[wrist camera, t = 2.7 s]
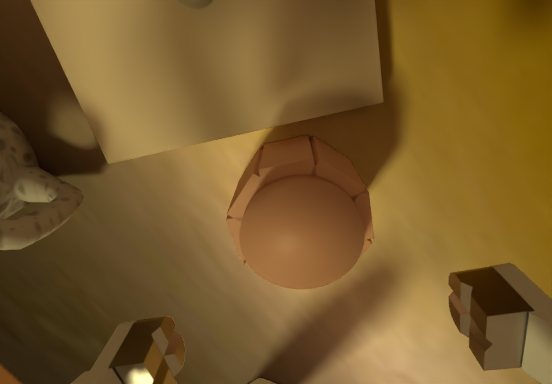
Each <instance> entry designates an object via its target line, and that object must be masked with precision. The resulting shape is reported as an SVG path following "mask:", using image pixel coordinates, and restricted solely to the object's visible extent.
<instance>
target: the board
mask: <svg viewBox="0 0 552 384" xmlns="http://www.w3.org/2000/svg"><path fill="white" fill-rule="evenodd" d="M30 1H31V3H32V5H33V7H34V9H35V11H36V13H37V15H38V17H39V19H40V22H41V24H42V26H43V28H44V30H45V32H46V34H47V36H48V38H49V40H50V43H51V45H52V47H53V49H54V51H55V53H56V55H57V57H58V59H59V62H60V64H61V66H62V68H63V70H64V72H65V74H66V76H67V78H68V80H69V83H70V85H71V87H72V89H73V91H74V93H75V95H76V97H77V99H78V102H79V104H80V106H81V108H82V110H83V112H84V114H85V116H86V118H87V120H88V123H89V125H90V127H91V129H92V131H93V133H94V135H95V137H96V139H97V141H98V144H99V146H100V148H101V150H102V152H103V154H104V156H105V158H106V160H107V163H108V164H110V163H114V162H119V161H123V160H128V159H132V158H137V157H141V156H145V155H150V154H154V153H159V152H163V151H168V150H172V149H177V148H181V147H186V146H190V145H195V144H199V143H204V142H208V141H213V140H217V139H222V138H226V137H231V136H235V135H240V134H244V133H249V132H253V131H258V130H262V129H267V128H271V127H276V126H280V125H285V124H289V123H294V122H298V121H303V120H307V119H312V118H316V117H321V116H325V115H330V114H334V113H339V112H343V111H348V110H352V109H356V108H361V107H365V106H370V105H374V104H379V103H383V102H384V101H383V90H382V78H381V67H380V55H379V43H378V32H377V20H376V8H375V0H213V2H212V3H211V4H210V5H208V6H207V7H205V8H202V9H192V8H189V7H187V6H184V5H182V4H180V3H177V2H175V1H173V0H30Z"/></svg>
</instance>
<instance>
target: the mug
mask: <svg viewBox="0 0 552 384" xmlns="http://www.w3.org/2000/svg"><path fill="white" fill-rule="evenodd" d="M82 200H83V195H82V193H81V191H80V190H79V189H78V188H76V187H74V186H72V185H70V184H68V183H66V182H64V181H62V180H60V179H58V178H56V177H54V176H53V175H51V174H49V173H48V172H46V171H44V170H43V169H41V168H39V165H38V159H37V157H36V155H35V152H34V150H33V148H32V146H31V144H30V142H29V141H28V139H27V138H26V136H25V135H24V133H23V132H22V131H21V130H20V129H19V127H18V126H17V125H16V124H15V123H14V122H13V121H12V120H11V119H10V118H8V117H7V116H6V115H5V114H3V113H2V112H1V111H0V250H13V249H22V248H24V247H26V246H28V245H31V244H33V243H34V242H36V241H38V240H40V239H42V238H44V237H45V236H47V235H49V234H50V233H51V232H53V231H54V230H56V229H57V228H59V227H60V226H61V225H62V224H64V223H65V222H66V221H67V220H68V219H69V218H70V217H71V216H72V215H73V213H74V212H75V211H76V209H77V208H78V207H79V205H80V204H81V202H82ZM30 202H48V204H47V205H45V206H44V207H42V208H40V209H38V210H36V211H34V212H33V213H30V214H28V215H25V216H23V217H20V218H17V219H5V218H7V217H9V216H10V215H12V214H14V213H15V212H17V211H19V210H20V209H22V208H24V207H25V206H27V205H28V204H29V203H30Z"/></svg>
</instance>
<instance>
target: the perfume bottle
mask: <svg viewBox="0 0 552 384" xmlns="http://www.w3.org/2000/svg"><path fill="white" fill-rule="evenodd" d="M250 384H276V383H274V382H271V381H269V380H266V379H263V378H258V379H256V380H254V381H253V382H251V383H250Z"/></svg>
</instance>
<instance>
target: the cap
mask: <svg viewBox="0 0 552 384" xmlns="http://www.w3.org/2000/svg"><path fill="white" fill-rule="evenodd" d="M227 215H228V216H227V219H226V221H227V224H228V227H229V230H230V233H231V236H232V238H233V241H234V244H235V247H236V250H237V253H238V256H239V259H240V261H243V260H245V261H244V265H245V266H247V267H249V268H251V269H253V270H254V271H255V272H256V273H257V274H258V275H259V276H261V277H262V278H264V279H265V280H267V281H269V282H271V283H273V284H275V285H278V286H281V287H286V288H291V289H311V288H317V287H321V286H324V285H327V284H329V283H332V282H334V281H336V280H337V279H339V278H341V277H342V276H343V275H345V274H346V273H347V272H348V271H349V270H350V269H351V268H352V267H353V266H354V264H355V263H356V262H357V260H358V258H359V257H360V256H361V255H362V254H363V253H364V252H365V251H366V250H367V248H368V247H369V246H370V245H371V244H372V241H371V239H372V238H374V233H373V224H372V216H371V207H370V199H369V192H368V190H367V189H366V187H365V185H364V183H363V182H362V180H361V178H360V176H359V175H358V173H357V171H356V170H355V168H354V166H353V164H352V163H351V161H350V160H349V159H348V158H347V157H345V156H344V155H342V154H341V153H339V152H338V151H336V150H334V149H333V148H331V147H330V146H328V145H327V144H325V143H324V142H322V141H320V140H319V139H317V138H316V137H314V136H313V137H312V138H311V140H310V141H309V137H308V135H305V136H301V137H296V138H291V139H287V140H282V141H277V142H273V143H268V144H264V148H263V149H262V148H261V147H260V148H259V150H258V151H257V153H256V155H255V156H254V158H253V159H252V161H251V163H250V164H249V166H248V167H247V169H246V171H245V172H244V174H243V175H242V177H241V179H240V180H239V182H238V185H237V188H236V190H235V193H234V196H233V199H232V201H231V204H230V207H229V209H228V212H227Z"/></svg>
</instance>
